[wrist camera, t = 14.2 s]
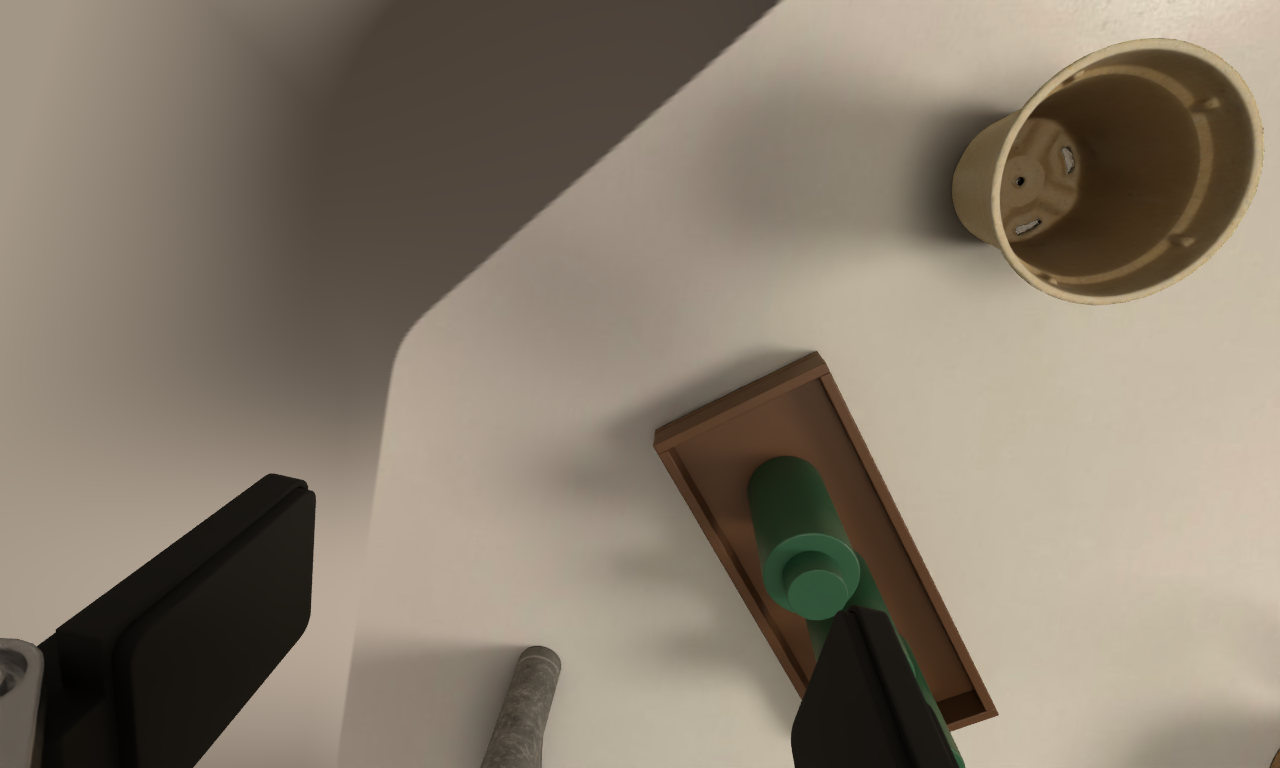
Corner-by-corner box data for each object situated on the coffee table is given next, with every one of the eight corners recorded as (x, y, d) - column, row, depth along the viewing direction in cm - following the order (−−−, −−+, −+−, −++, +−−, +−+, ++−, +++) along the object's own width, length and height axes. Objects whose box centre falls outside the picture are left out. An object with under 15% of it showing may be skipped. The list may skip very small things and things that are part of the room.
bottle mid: (782, 561, 39) (812, 685, 29) (850, 533, 38) (904, 650, 28) (813, 616, 40) (851, 753, 30) (880, 590, 39) (941, 722, 29)
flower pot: (876, 185, 32) (939, 186, 24) (1032, 31, 30) (1162, -26, 22) (995, 311, 34) (1093, 353, 26) (1154, 174, 31) (1319, 172, 23)
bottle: (734, 475, 37) (749, 575, 28) (804, 443, 36) (844, 535, 27) (767, 534, 38) (792, 651, 29) (836, 505, 37) (885, 615, 28)
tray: (655, 429, 37) (652, 445, 35) (816, 350, 35) (825, 362, 33) (834, 737, 43) (842, 768, 41) (982, 685, 41) (999, 715, 39)
